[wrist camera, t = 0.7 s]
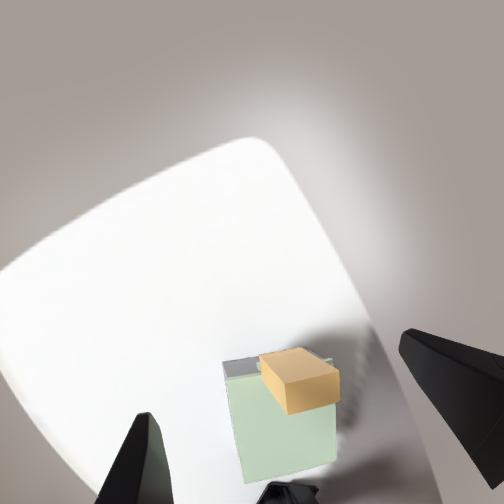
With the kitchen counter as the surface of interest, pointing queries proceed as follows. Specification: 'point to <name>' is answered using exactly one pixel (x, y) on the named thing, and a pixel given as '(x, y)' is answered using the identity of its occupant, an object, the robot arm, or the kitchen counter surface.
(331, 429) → the lid
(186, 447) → the kitchen counter surface
